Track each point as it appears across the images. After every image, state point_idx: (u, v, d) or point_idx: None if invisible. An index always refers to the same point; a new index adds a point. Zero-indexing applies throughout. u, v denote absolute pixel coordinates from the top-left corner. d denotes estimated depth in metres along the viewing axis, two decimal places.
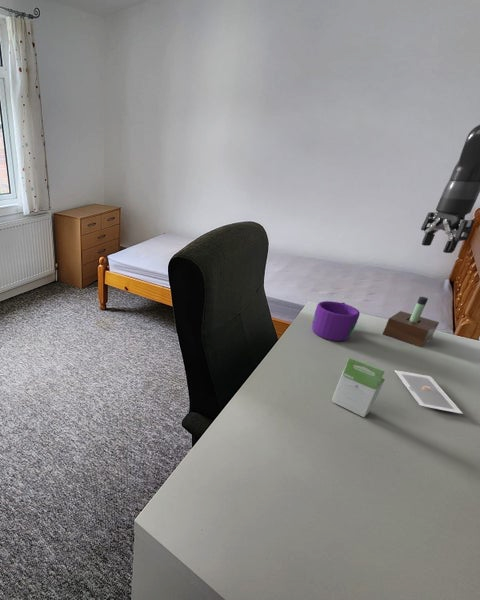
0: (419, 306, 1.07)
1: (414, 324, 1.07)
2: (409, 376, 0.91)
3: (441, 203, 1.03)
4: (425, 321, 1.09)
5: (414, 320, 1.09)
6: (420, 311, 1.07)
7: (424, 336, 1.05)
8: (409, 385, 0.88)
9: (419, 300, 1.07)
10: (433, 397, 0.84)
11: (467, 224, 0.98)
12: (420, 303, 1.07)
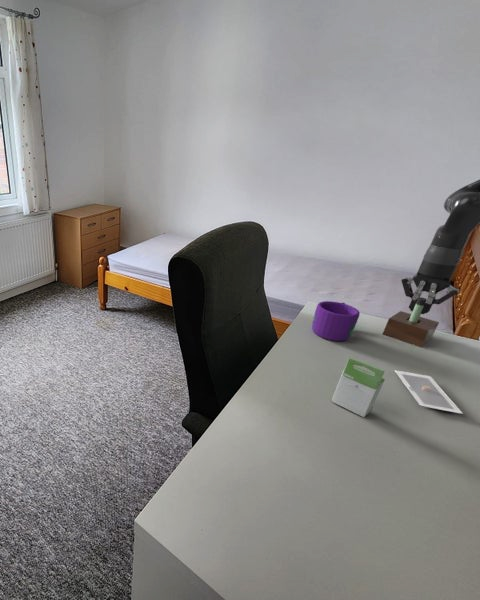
0: (418, 307, 1.06)
1: (414, 324, 1.07)
2: (409, 376, 0.91)
3: (432, 269, 1.00)
4: (425, 321, 1.09)
5: (413, 320, 1.09)
6: (419, 312, 1.07)
7: (424, 336, 1.05)
8: (409, 385, 0.88)
9: (418, 301, 1.06)
10: (433, 397, 0.84)
11: (455, 294, 1.00)
12: (419, 304, 1.06)
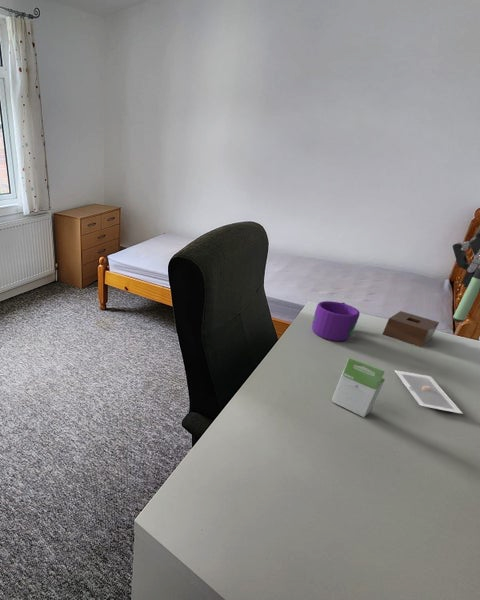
0: (476, 281, 0.79)
1: (414, 324, 1.07)
2: (409, 376, 0.91)
3: None
4: (425, 321, 1.09)
5: (468, 300, 0.81)
6: (477, 288, 0.79)
7: (424, 336, 1.05)
8: (409, 385, 0.88)
9: (476, 273, 0.79)
10: (433, 397, 0.84)
11: None
12: (478, 277, 0.78)
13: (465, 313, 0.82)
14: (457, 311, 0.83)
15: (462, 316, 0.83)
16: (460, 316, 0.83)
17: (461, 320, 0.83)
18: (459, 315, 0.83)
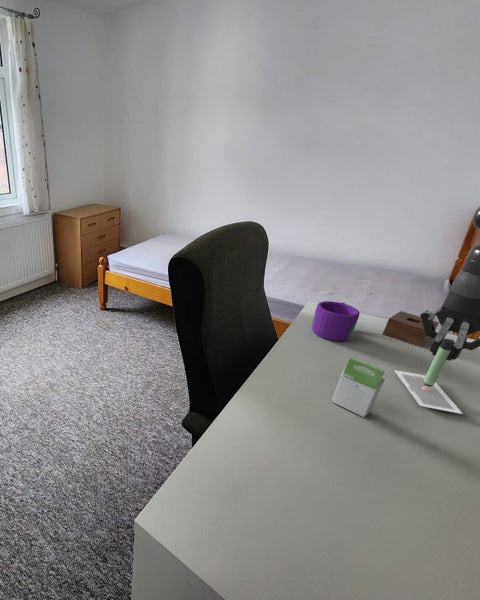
0: (443, 352, 0.80)
1: (414, 324, 1.07)
2: (409, 377, 0.91)
3: (464, 304, 0.74)
4: None
5: (436, 368, 0.83)
6: (444, 358, 0.81)
7: (424, 336, 1.05)
8: (409, 385, 0.88)
9: (443, 344, 0.80)
10: (433, 397, 0.84)
11: None
12: (444, 348, 0.80)
13: (434, 379, 0.84)
14: (426, 376, 0.85)
15: (431, 381, 0.85)
16: (430, 382, 0.85)
17: (430, 385, 0.85)
18: (428, 380, 0.85)
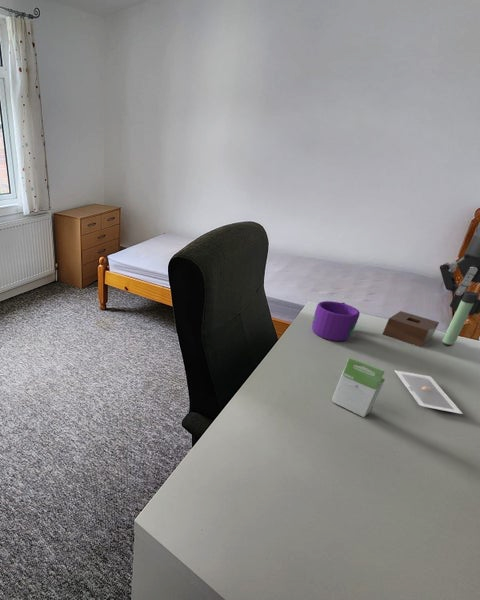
0: (465, 306, 0.74)
1: (414, 324, 1.07)
2: (409, 377, 0.91)
3: None
4: (425, 321, 1.09)
5: (457, 325, 0.76)
6: (467, 312, 0.74)
7: (424, 336, 1.05)
8: (409, 385, 0.88)
9: (465, 297, 0.73)
10: (433, 397, 0.84)
11: None
12: (466, 301, 0.73)
13: (454, 338, 0.77)
14: (446, 335, 0.78)
15: (451, 340, 0.78)
16: (450, 341, 0.78)
17: (450, 345, 0.78)
18: (448, 339, 0.78)
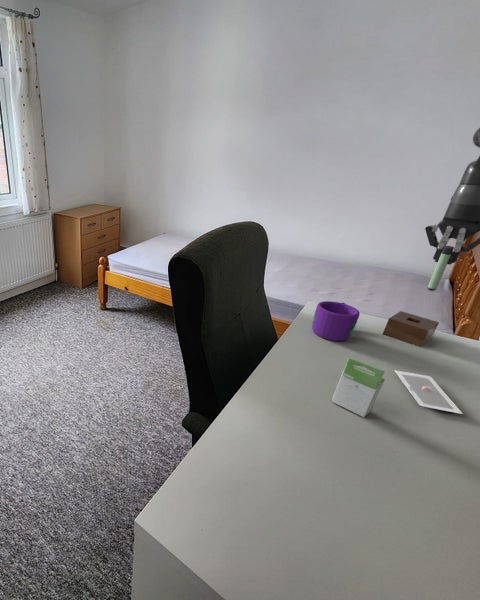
0: (444, 257, 0.97)
1: (414, 324, 1.07)
2: (409, 377, 0.91)
3: (462, 211, 0.91)
4: (425, 321, 1.09)
5: (439, 272, 0.99)
6: (445, 262, 0.97)
7: (424, 336, 1.05)
8: (409, 385, 0.88)
9: (444, 250, 0.97)
10: (433, 397, 0.84)
11: None
12: (445, 253, 0.96)
13: (437, 283, 1.00)
14: (430, 282, 1.01)
15: (434, 285, 1.01)
16: (433, 286, 1.01)
17: (434, 289, 1.01)
18: (432, 285, 1.01)
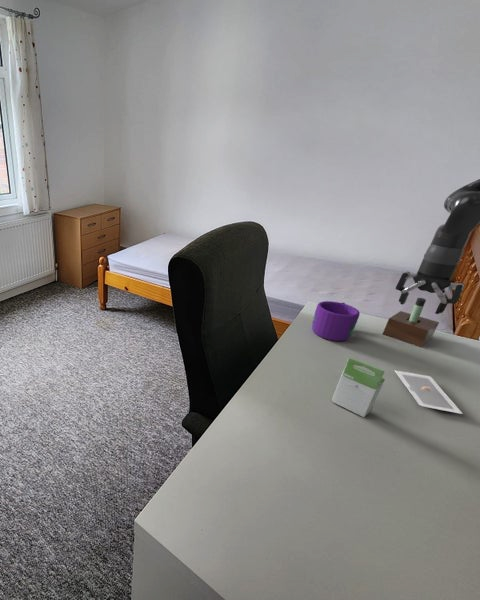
0: (417, 308, 1.06)
1: (414, 324, 1.07)
2: (409, 377, 0.91)
3: (433, 269, 1.00)
4: (425, 321, 1.09)
5: (413, 321, 1.09)
6: (418, 312, 1.07)
7: (424, 336, 1.05)
8: (409, 385, 0.88)
9: (417, 302, 1.06)
10: (433, 397, 0.84)
11: (462, 288, 0.98)
12: (418, 305, 1.06)
13: None
14: None
15: None
16: None
17: None
18: None
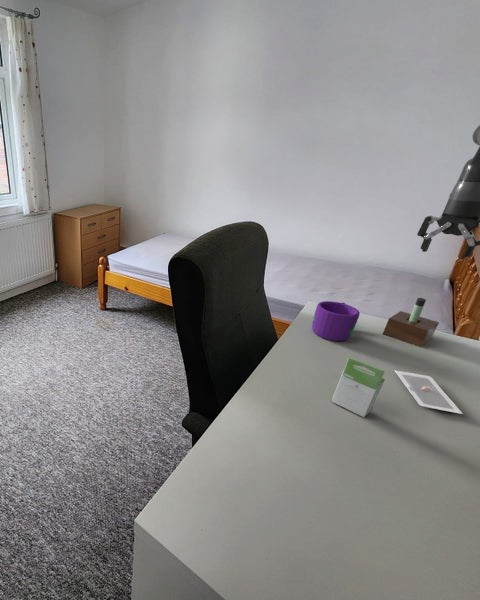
0: (417, 308, 1.06)
1: (414, 324, 1.07)
2: (409, 377, 0.91)
3: (460, 207, 0.93)
4: (425, 321, 1.09)
5: (413, 321, 1.09)
6: (418, 312, 1.07)
7: (424, 336, 1.05)
8: (409, 385, 0.88)
9: (417, 302, 1.06)
10: (433, 397, 0.84)
11: None
12: (418, 305, 1.06)
13: None
14: None
15: None
16: None
17: None
18: None
